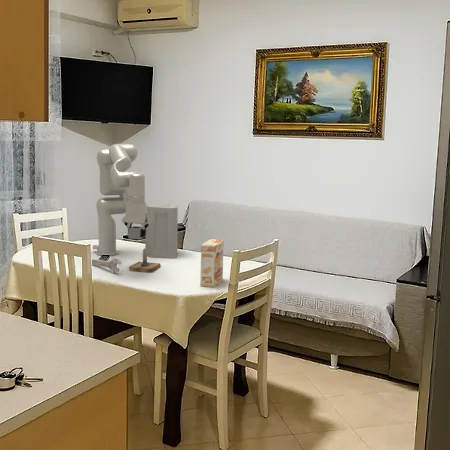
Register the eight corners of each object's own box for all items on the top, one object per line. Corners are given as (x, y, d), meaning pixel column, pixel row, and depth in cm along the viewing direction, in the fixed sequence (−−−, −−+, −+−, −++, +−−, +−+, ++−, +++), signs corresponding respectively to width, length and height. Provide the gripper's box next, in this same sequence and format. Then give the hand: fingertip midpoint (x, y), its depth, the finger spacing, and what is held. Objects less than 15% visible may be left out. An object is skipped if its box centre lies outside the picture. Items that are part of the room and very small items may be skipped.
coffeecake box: (214, 287, 269) (215, 245, 265) (199, 286, 271) (200, 244, 267) (223, 279, 283) (224, 239, 280) (209, 278, 285) (210, 238, 281)
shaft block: (129, 270, 295) (129, 250, 293) (138, 265, 306) (138, 245, 304) (151, 272, 292) (151, 252, 290) (160, 267, 303) (160, 247, 301)
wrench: (92, 269, 308) (122, 274, 286) (89, 269, 307) (119, 275, 284) (91, 253, 307) (121, 258, 285) (87, 254, 306) (117, 258, 284)
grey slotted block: (128, 238, 282) (128, 228, 281) (133, 236, 287) (133, 226, 286) (140, 239, 280) (140, 229, 279) (145, 237, 286) (145, 226, 285)
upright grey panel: (160, 260, 317) (160, 209, 312) (144, 255, 328) (144, 205, 323) (188, 256, 329) (188, 206, 324) (172, 251, 340) (172, 203, 335)
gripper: (116, 199, 279) (116, 236, 282) (150, 201, 275) (150, 239, 278) (123, 197, 286) (123, 233, 289) (156, 199, 282) (156, 236, 285)
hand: (136, 236), depth 284 cm, fingers closed on grey slotted block, 6 cm apart
